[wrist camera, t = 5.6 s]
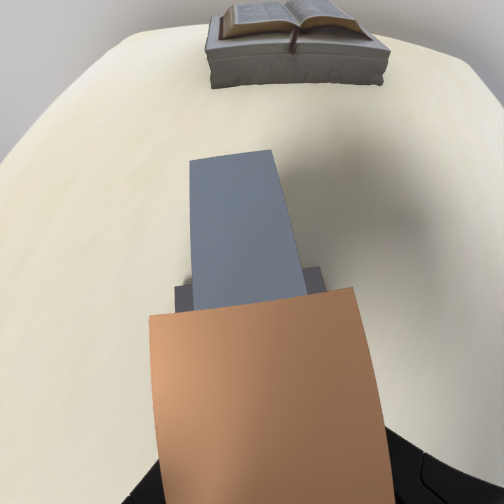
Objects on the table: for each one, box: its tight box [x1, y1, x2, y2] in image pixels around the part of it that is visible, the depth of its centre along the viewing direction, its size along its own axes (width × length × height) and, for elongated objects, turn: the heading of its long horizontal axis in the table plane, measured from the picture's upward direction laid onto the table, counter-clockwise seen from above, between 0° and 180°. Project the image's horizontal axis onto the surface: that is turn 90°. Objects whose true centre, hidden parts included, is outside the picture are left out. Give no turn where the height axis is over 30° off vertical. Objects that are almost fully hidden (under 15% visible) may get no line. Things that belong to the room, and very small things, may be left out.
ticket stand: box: [175, 150, 326, 313], centre depth 13 cm, size 14×10×12 cm
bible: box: [205, 0, 391, 89], centre depth 36 cm, size 23×27×10 cm
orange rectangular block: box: [149, 287, 395, 504], centre depth 6 cm, size 5×3×7 cm, turn 8°
